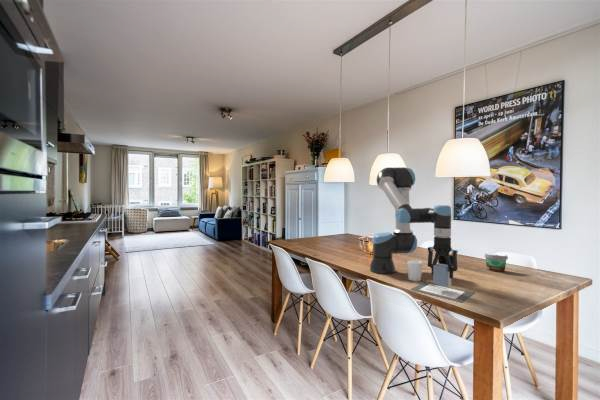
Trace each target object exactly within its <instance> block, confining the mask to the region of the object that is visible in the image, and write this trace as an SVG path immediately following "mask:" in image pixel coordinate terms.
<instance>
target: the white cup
mask: <svg viewBox="0 0 600 400" xmlns="http://www.w3.org/2000/svg"><path fill="white" fill-rule="evenodd" d="M406 263H407V265H406V267H407V268H406V269H407V279H408V280H409V281H413V282H420V281H421V280H422V274H423V273H422V272H423V261H421V260H416V259H415V260H414V259H412V260H411V259H410V260H407V261H406Z"/></svg>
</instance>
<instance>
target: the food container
mask: <svg viewBox="0 0 600 400" xmlns="http://www.w3.org/2000/svg"><path fill="white" fill-rule="evenodd" d="M483 256H484V257H485V262H486V264H485V265H486V270H488V271H490V272H493V273H494V272H495V273H504V272H505V271H506V267H507V266H506V264H507V260H508V259H509V257H508V255H499V254H488V253H484V255H483Z"/></svg>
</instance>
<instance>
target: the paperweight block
mask: <svg viewBox="0 0 600 400" xmlns="http://www.w3.org/2000/svg"><path fill="white" fill-rule="evenodd" d="M448 271H449V268H448V265H445V264H439V262H437V264H436V265H434V266H433V275H432V276H433V277H432V278H433V280H432V281H433V282H432V283H433V284H438V285H443V286H448V285H447V280H448Z"/></svg>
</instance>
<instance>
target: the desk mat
mask: <svg viewBox="0 0 600 400" xmlns="http://www.w3.org/2000/svg"><path fill="white" fill-rule="evenodd" d="M429 284H433V282H430V281H429V282H428V281H423V282H422V283H420V284H418V285H416V286H414V287H412V288H410V291H415V292H417V293H422V294H427V295H430V296H434V297H438V298H441V299H442V298H443V299H445V300H449V301H450V300H451V301H454V302H458V303H461V304H462V303H464V302H465V301H467V299H468V298H470V297H472V296H473V295H474V294H475V292H474V291H470V290H466V289H460V288H456V287H452V286H449V285H447V286H443V285H438V284H433V285H437V286H442V287H446V288H451V289H455V290H459V291H464V293H463V294H461V295H460V296H459V297H457V298H456V299H454V298H450V297H446V296H442V295H438V294H434V293H430V292H426V291H422V290H420V289H421V288H423V287H425V286H427V285H429Z"/></svg>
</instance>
